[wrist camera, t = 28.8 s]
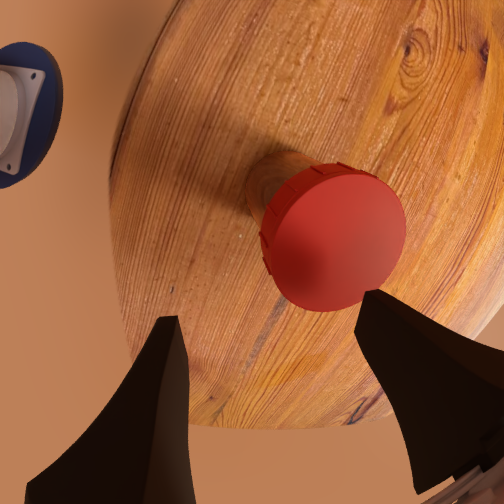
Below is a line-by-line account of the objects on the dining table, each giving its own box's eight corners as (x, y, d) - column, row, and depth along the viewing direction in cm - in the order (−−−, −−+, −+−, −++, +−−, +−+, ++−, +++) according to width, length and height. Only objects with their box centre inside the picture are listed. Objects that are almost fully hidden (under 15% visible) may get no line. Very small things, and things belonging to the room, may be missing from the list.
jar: (234, 216, 18) (256, 283, 11) (261, 139, 16) (305, 157, 9) (305, 235, 19) (356, 301, 13) (333, 166, 17) (406, 203, 11)
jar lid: (357, 137, 10) (383, 144, 8) (394, 245, 13) (416, 263, 11) (231, 212, 11) (237, 232, 9) (296, 308, 14) (309, 334, 12)
